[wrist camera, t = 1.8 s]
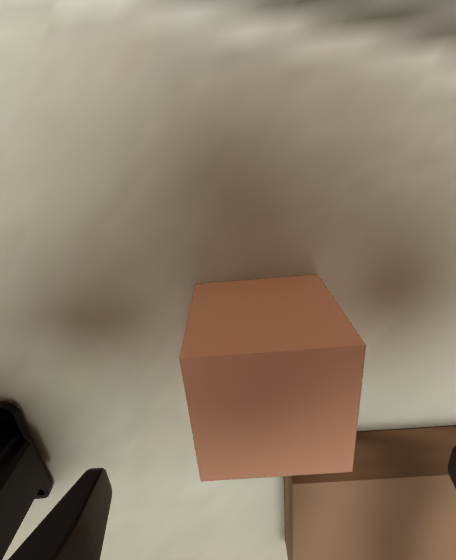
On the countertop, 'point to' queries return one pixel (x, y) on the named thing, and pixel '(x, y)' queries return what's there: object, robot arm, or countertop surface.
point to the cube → (271, 379)
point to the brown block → (378, 501)
